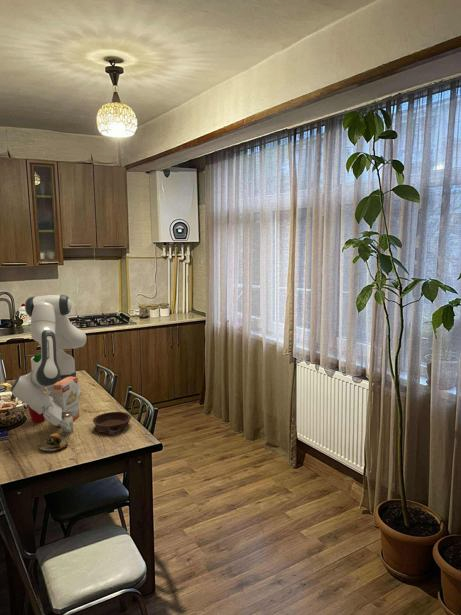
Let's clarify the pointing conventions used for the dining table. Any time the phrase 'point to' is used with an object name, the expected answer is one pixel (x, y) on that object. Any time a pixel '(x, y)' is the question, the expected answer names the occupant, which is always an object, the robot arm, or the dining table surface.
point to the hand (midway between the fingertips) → (67, 421)
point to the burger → (54, 443)
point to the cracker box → (67, 395)
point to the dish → (112, 422)
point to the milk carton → (35, 361)
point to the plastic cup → (36, 416)
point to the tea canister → (69, 419)
